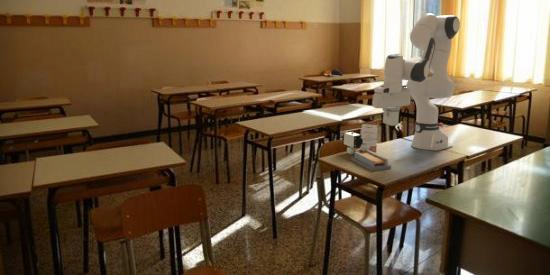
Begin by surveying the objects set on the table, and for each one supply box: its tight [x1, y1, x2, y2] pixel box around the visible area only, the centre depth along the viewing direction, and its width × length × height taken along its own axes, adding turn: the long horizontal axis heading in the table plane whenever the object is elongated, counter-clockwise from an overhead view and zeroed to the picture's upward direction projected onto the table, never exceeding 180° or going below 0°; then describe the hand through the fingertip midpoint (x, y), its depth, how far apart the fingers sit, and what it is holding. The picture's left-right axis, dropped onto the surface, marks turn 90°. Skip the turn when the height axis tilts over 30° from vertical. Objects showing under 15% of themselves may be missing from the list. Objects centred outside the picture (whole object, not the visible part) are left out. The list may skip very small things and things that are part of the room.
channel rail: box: [350, 150, 392, 172], centre depth 203 cm, size 11×18×4 cm, turn 20°
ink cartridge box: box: [360, 123, 378, 152], centre depth 226 cm, size 9×5×15 cm, turn 74°
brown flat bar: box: [361, 152, 384, 164], centre depth 203 cm, size 5×14×1 cm, turn 20°
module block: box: [382, 107, 400, 127], centre depth 206 cm, size 4×7×8 cm, turn 20°
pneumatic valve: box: [341, 131, 363, 155], centre depth 220 cm, size 6×12×12 cm, turn 31°
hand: (390, 115), depth 206 cm, fingers closed on module block, 4 cm apart
